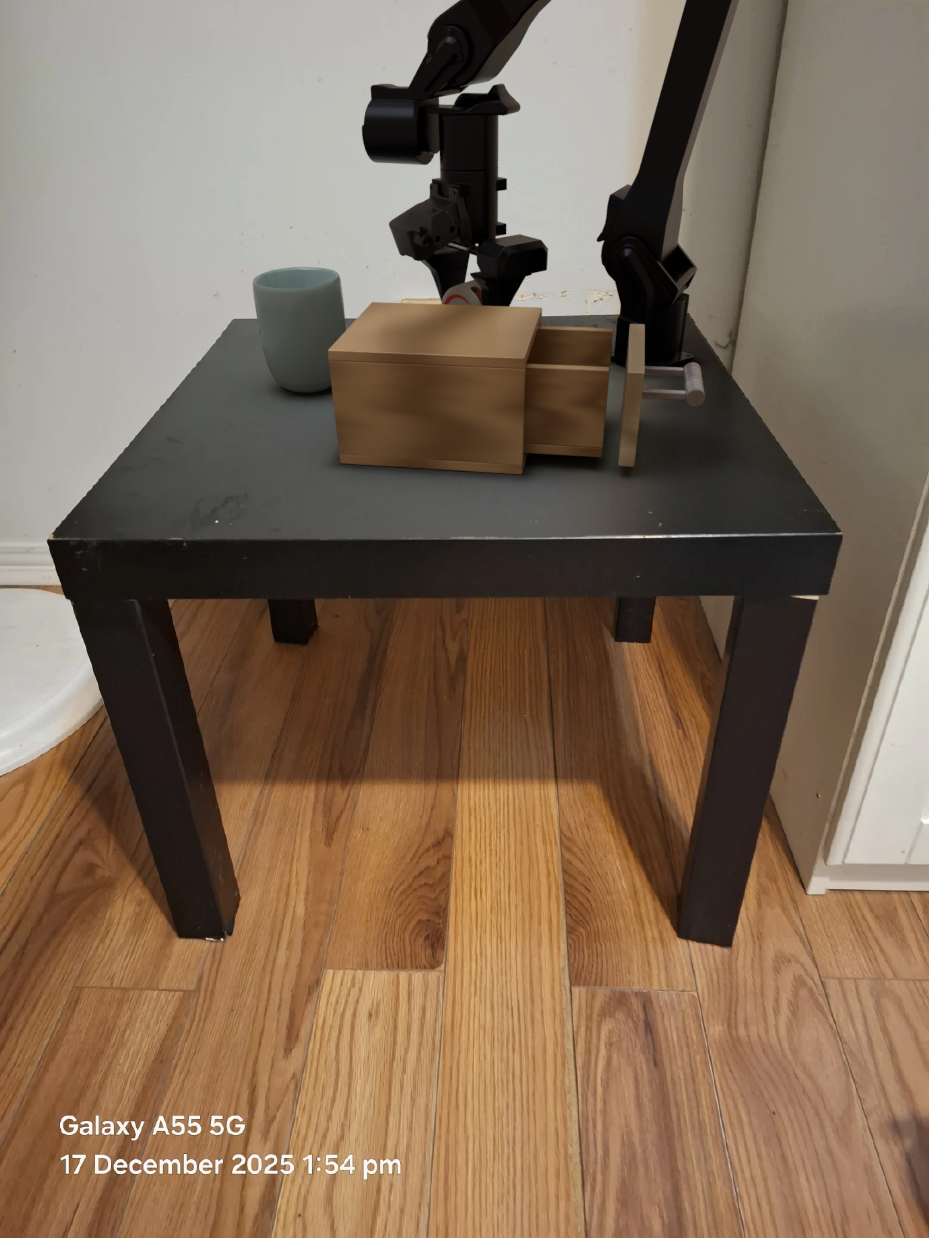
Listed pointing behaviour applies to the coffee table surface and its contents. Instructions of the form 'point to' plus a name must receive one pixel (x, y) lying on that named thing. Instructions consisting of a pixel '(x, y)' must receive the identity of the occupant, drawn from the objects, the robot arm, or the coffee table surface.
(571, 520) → the coffee table surface
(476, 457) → the cabinet
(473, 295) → the roller toy
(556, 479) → the coffee table surface
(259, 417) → the coffee table surface
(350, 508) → the coffee table surface
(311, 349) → the cup
